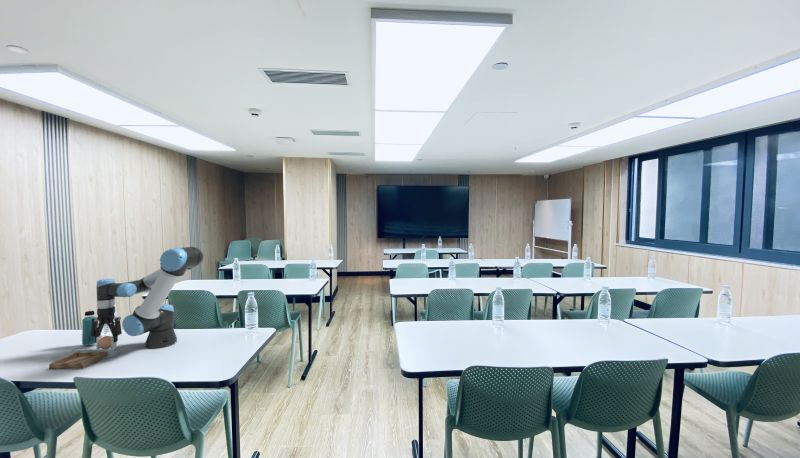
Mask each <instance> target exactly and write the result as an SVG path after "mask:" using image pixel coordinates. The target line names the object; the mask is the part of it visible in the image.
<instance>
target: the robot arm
mask: <svg viewBox="0 0 800 458" xmlns="http://www.w3.org/2000/svg"><path fill="white" fill-rule="evenodd" d="M203 260H204V254H203V251H202V250H201V249H200V248H198V247H196V246H185V247H172V248H169V249H167V250H165V251H164V252H163V253H162V254H161V255H160V258H159V261H160V262H159V265H160V266H159V267H160V268H159V269H157V270H155V271H153V272H151V273H150V274H147V275H145V276H144V277H143V278H140V279H137V280H132V281H125V282H116V280H115V278H102V279H98V280H97V282H96V287H95V289H96V308H97V309H96V314H97V317H96V316H95V317H96V318H93V319H91V320H92V329H91V336H94V337H95V344H96V349H101V348H100V347H99V346H98V342H99V340H100V339H101V338H102V337H103V336H102V331H103V330H104V326H105V325H107V327H108V329H109V330H110V333H111V336H112V337H111V347H110V349H114V350H115V349H116V348H117V342H118V341H119V337H118V336H120V335H122V334H123V333H122V332H123V331H124V332H125V334H126V335H128V336H129V337H137V336H142V335H143V334H144V335H145V333H148V335H147V337H146V340H145V342H144V343H145V348H146V349H160V348H166V346H167V347H170V346H172V344H173V345H175V344H176V343H177V342H178V337H177V334H176V331H175V329H174V325H175V324H174V323H175V322H174V321H175V318H174V317H175V316H174V315H175V314H174V313H175V309H174V308H175V307H174V306H173V304H164V302H165V300H167V298H168V296H169V294H170V293H171V291H172V289H173V287H174V286H175V284H176V282H177V281H178V279H179V278H180V277H182V276H184V275H185V274H186V272H187V271H189V270H192V269H194V268H196V267H198V266H200V264H202V263H203ZM147 292H148V293H147ZM140 293H147V295H146V297H144V300H143V302H142V303H141V305H138V306H136V307H135V309H134V310H133V312H132V314H129V315H127V316H125V317H124V318H123V320H122V318H121V316H116V315H115V313H116V301H115V300H116V298H117V297H118V298H130V297H133V296H134V295H137V294H140ZM121 320H122V325H121ZM122 328H123V331H122ZM175 342H176V343H175ZM174 343H175V344H174ZM169 345H170V346H169Z"/></svg>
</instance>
